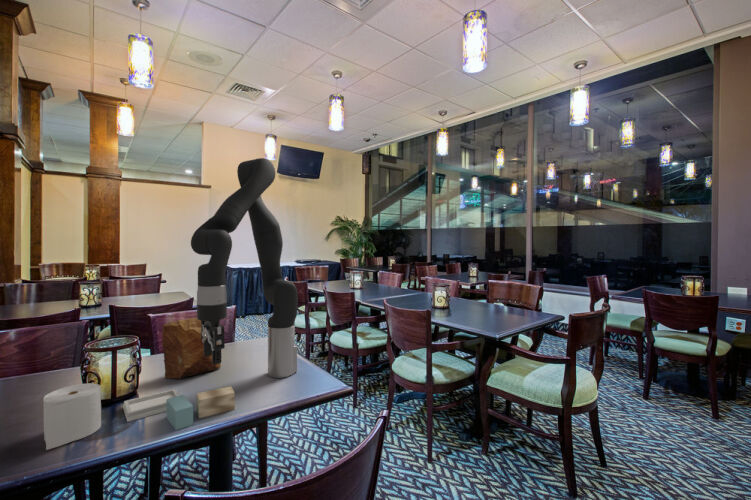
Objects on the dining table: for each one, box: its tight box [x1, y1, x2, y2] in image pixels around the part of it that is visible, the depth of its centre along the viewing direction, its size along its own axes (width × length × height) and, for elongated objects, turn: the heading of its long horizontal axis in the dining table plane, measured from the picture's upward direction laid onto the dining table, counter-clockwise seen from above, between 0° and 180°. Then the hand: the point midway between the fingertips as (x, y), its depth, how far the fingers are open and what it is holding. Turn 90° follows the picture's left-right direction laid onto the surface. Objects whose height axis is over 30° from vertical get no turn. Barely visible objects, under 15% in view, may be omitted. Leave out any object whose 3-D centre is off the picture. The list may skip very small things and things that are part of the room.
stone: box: [161, 317, 222, 380], centre depth 123 cm, size 19×11×20 cm, turn 122°
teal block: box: [166, 394, 194, 431], centre depth 91 cm, size 4×9×5 cm, turn 44°
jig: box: [122, 388, 180, 423], centre depth 98 cm, size 13×10×2 cm
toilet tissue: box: [42, 382, 102, 451], centre depth 85 cm, size 11×12×10 cm
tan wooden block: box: [196, 385, 236, 419], centre depth 97 cm, size 9×5×5 cm, turn 123°
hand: (212, 359), depth 97 cm, fingers open, 8 cm apart
